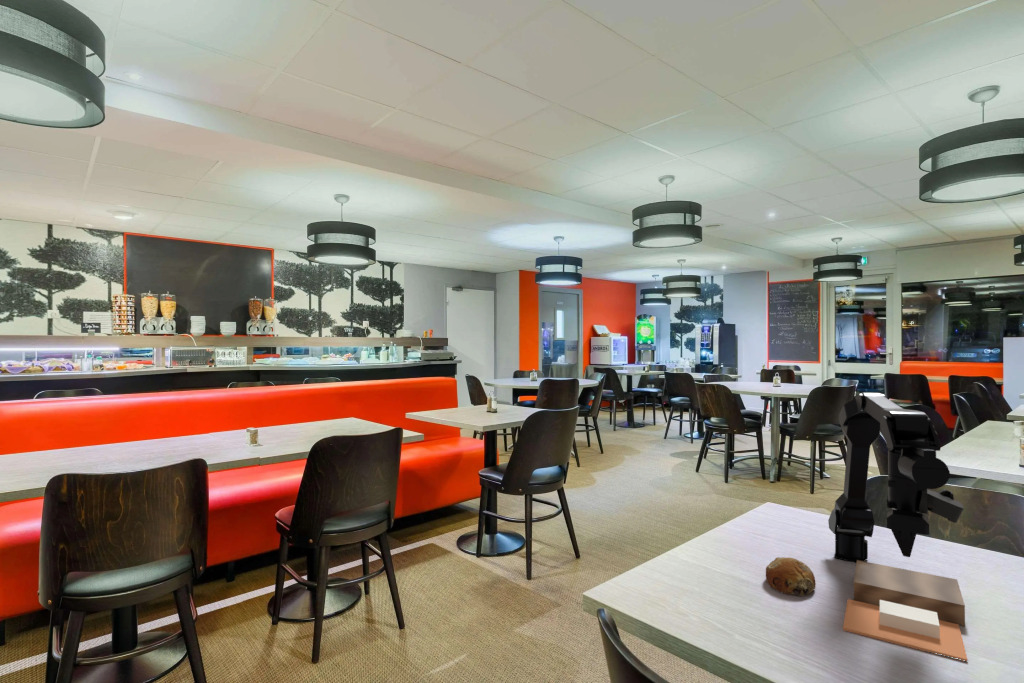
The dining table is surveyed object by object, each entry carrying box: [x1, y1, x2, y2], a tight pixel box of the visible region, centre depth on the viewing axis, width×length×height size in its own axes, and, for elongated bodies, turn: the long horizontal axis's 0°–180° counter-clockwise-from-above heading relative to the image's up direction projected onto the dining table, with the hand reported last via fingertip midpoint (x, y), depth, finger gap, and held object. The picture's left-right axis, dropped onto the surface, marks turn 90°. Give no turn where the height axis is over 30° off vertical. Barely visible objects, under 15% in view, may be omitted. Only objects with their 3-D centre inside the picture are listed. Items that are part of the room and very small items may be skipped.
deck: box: [853, 560, 966, 627], centre depth 113 cm, size 18×14×4 cm
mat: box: [842, 598, 969, 662], centre depth 102 cm, size 18×14×1 cm
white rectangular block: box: [880, 600, 940, 639], centre depth 102 cm, size 9×6×2 cm, turn 55°
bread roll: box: [765, 556, 816, 597], centre depth 120 cm, size 10×10×8 cm
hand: (906, 556), depth 104 cm, fingers closed
